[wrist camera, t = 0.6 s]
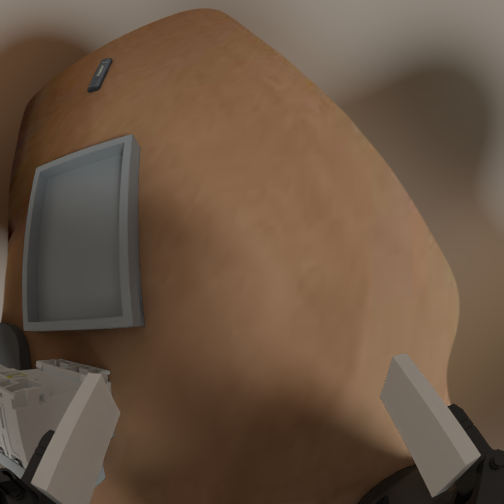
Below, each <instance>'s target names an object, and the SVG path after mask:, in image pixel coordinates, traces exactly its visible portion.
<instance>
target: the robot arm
mask: <svg viewBox="0 0 504 504" xmlns="http://www.w3.org/2000/svg"><path fill="white" fill-rule="evenodd" d="M380 398H381V400H382V402H383V404H384V405H385V407H386V409H387V411H388V413H389V414H390V416H391V418H392V420H393V422H394V424H395V426H396V427H397V429H398V431H399V433H400V435H401V437H402V439H403V441H404V442H405V444H406V446H407V448H408V450H409V452H410V454H411V456H412V458H413V460H414V462H415V464H416V465H413V466H410V467H408V468H405V469H403V470H401V471H399V472H397V473H395V474H393V475H392V476H390V477H388V478H387V479H385V480H384V481H382V482H381V483H380V484H378V485H377V486H376V487H374V488H373V489H372V490H371V491H370V492H369V493H368V494H366V495H365V496H364V497H363V498H362V500H361V501H360V502H359V503H358V504H504V451H502V450H499V449H498V450H493V449H492V448H491V447H490V446H489V445H488V443H487V442H486V440H485V439H484V438H483V436H482V435H481V434H480V432H479V431H478V429H477V428H476V427H475V426H474V425H473V423H472V421H471V420H470V419H469V417H468V416H467V415H466V413H465V412H464V410H463V409H461V408H460V407H458V406H457V405H455V404H452V405H450V406H448V407H447V406H446V404H445V403H444V402H443V400H442V399H441V397H440V396H439V395H438V393H437V392H436V391H435V389H434V388H433V387H432V386H431V384H430V383H429V382H428V380H427V379H426V378H425V376H424V375H423V374H422V373H421V371H420V370H419V369H418V367H417V366H416V365H415V364H414V362H413V361H412V360H411V359H410V357H409V356H408V355H407V354H406V353H405V354H401V355H397V356H393V357H392V361H391V364H390V367H389V371H388V374H387V377H386V380H385V383H384V386H383V389H382V392H381V395H380ZM119 416H120V411H119V409H118V407H117V405H116V403H115V401H114V399H113V397H112V395H111V393H110V391H109V389H108V387H107V385H106V383H105V381H104V378H103V376H102V374H95V373H88V374H87V376H86V378H85V379H84V381H83V383H82V384H81V386H80V388H79V389H78V391H77V393H76V395H75V396H74V398H73V400H72V402H71V403H70V405H69V407H68V409H67V411H66V412H65V414H64V416H63V418H62V420H61V422H60V424H59V425H58V427H57V429H56V431H53V430H49V431H48V432H46V433H45V434H44V435H43V436H42V438H41V440H40V441H39V443H38V447H36V449H35V451H34V454H33V455H32V457H31V459H30V461H29V463H28V465H27V467H26V469H25V472H24V474H23V476H22V477H21V479H19V478H18V477H17V476H16V475H15V474H14V473H13V472H12V471H11V470H9V469H7V468H1V469H0V504H90V501H91V498H92V494H93V491H94V488H95V485H96V482H97V478H98V475H99V472H100V469H101V466H102V463H103V460H104V457H105V455H106V452H107V449H108V446H109V443H110V440H111V438H112V435H113V432H114V429H115V427H116V424H117V421H118V419H119Z"/></svg>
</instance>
